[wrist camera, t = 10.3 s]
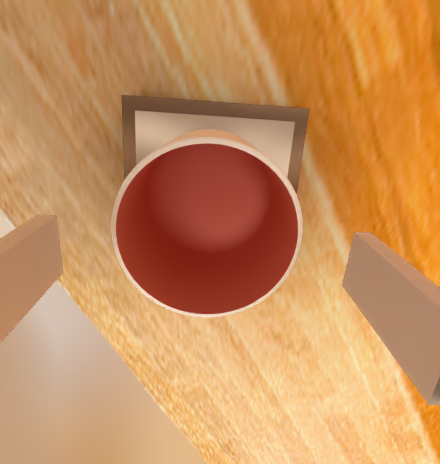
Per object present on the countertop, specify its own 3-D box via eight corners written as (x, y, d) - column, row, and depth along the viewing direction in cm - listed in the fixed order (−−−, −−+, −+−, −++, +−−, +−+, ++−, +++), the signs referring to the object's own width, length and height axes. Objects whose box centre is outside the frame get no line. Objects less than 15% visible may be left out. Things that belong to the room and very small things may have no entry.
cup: (253, 259, 28) (273, 332, 19) (139, 237, 27) (100, 301, 18) (286, 144, 25) (330, 162, 16) (157, 114, 24) (122, 114, 15)
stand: (131, 96, 27) (120, 94, 24) (299, 108, 27) (310, 108, 24) (135, 252, 31) (126, 267, 28) (277, 259, 32) (284, 275, 29)
